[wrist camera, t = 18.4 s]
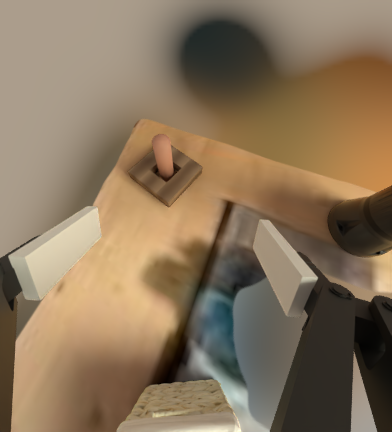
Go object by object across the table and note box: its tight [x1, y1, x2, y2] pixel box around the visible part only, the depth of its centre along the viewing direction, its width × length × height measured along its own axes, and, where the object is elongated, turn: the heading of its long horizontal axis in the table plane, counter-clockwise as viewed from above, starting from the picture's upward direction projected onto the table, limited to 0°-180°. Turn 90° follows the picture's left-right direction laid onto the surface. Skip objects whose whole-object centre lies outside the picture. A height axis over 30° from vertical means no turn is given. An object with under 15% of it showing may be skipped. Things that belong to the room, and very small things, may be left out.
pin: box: [152, 134, 174, 182], centre depth 45 cm, size 4×4×13 cm
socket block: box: [128, 145, 202, 207], centre depth 50 cm, size 14×14×3 cm
